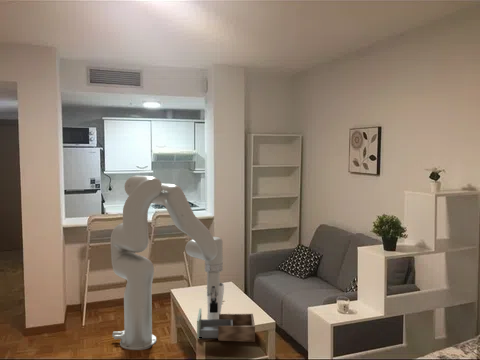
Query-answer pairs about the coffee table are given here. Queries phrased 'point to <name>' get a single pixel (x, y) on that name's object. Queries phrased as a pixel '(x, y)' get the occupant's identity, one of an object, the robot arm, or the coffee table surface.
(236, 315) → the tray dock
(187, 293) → the coffee table surface
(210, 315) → the drinking glass
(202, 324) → the tray
